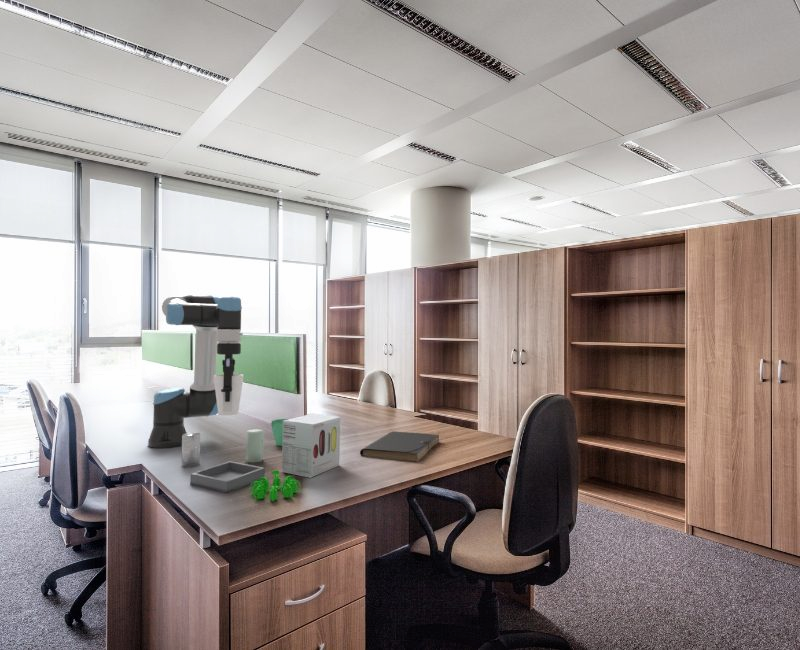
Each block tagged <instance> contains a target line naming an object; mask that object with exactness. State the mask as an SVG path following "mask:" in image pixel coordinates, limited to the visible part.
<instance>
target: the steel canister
mask: <svg viewBox="0 0 800 650" xmlns="http://www.w3.org/2000/svg"><path fill="white" fill-rule="evenodd" d="M186 433H187V434H183V435H182V445H181V467H182V468H196V467H198V466H200V464H201V433H199V432H186Z"/></svg>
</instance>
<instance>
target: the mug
mask: <svg viewBox="0 0 800 650" xmlns="http://www.w3.org/2000/svg"><path fill="white" fill-rule="evenodd" d="M288 419H289V418H278V419H272V420H271V422H270V424H271V429H272V433H273V434H272V435H273V438H274V441H275V444H276V446H277V447H279V446H280V447H282V441H283V421H284V420H288Z"/></svg>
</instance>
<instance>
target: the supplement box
mask: <svg viewBox="0 0 800 650" xmlns="http://www.w3.org/2000/svg"><path fill="white" fill-rule="evenodd" d="M287 419H288V420H284V421H283V441H282V446H281V447H282V451H281V453H282V454H281V455H282V456H281V458H282V459H281V461H282V462H281V472H282V473H284V474H285V473H286V474H290V475H294V476H300V477H303V478H304V477H305V478H310V479H311V478H312V477H315V476H317V475H320V474H322V473H325V472H328V471H329V470H332V469H334V468H337V467H339V466H340V459H341V458H340V456H341V455H340V453H341V451H340V450H341V448H340V447H341V445H340V444H341V417H340V416H336V415H329V414H320V413H309V414H305V415H301V416H297V417H293V418H287Z"/></svg>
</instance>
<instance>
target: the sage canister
mask: <svg viewBox="0 0 800 650" xmlns="http://www.w3.org/2000/svg"><path fill="white" fill-rule="evenodd" d="M245 459H246V460H245V462H246V463H251V464H255V463H259V462H263V460H264V430H263V429H249V430H247V431H246V455H245Z"/></svg>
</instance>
